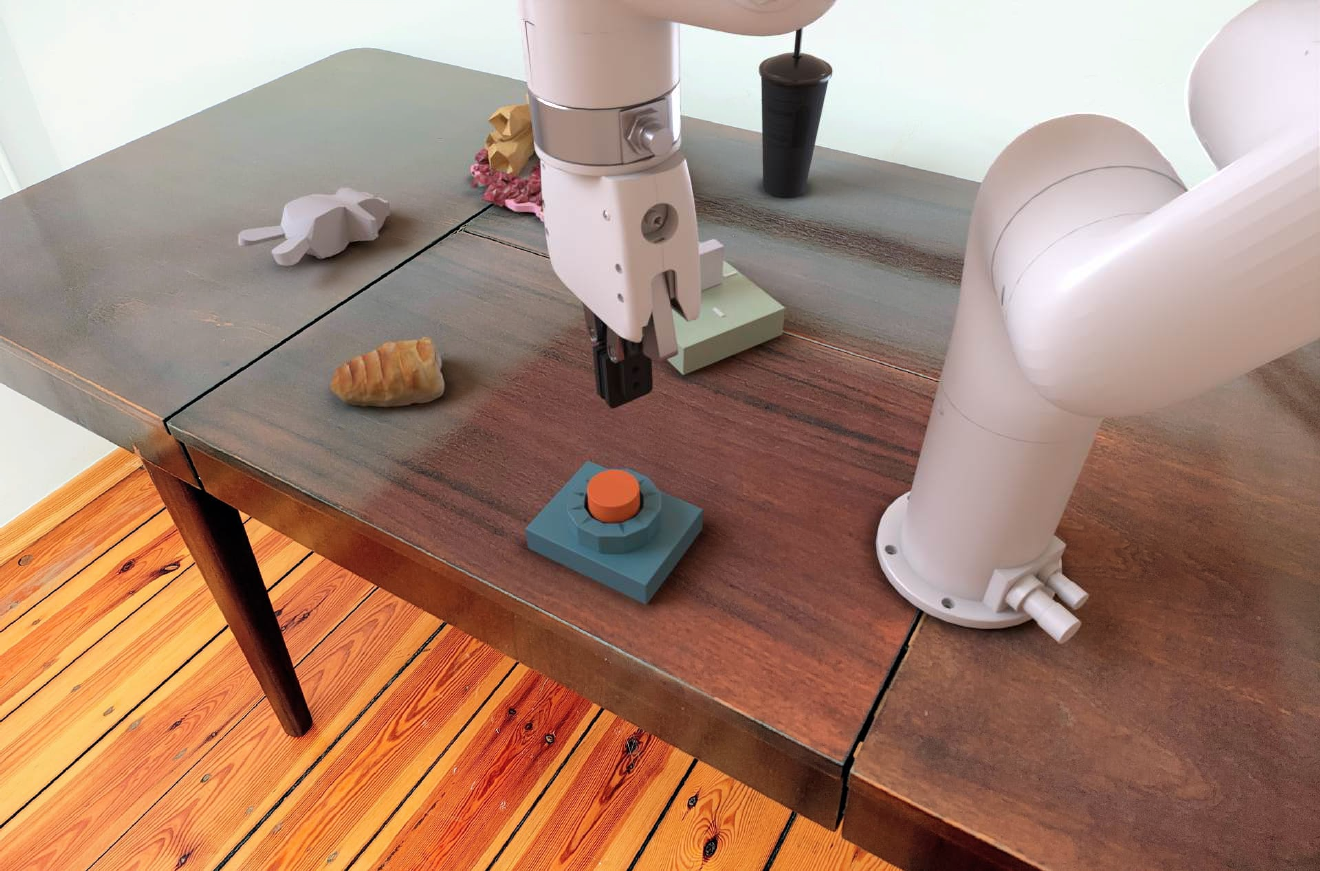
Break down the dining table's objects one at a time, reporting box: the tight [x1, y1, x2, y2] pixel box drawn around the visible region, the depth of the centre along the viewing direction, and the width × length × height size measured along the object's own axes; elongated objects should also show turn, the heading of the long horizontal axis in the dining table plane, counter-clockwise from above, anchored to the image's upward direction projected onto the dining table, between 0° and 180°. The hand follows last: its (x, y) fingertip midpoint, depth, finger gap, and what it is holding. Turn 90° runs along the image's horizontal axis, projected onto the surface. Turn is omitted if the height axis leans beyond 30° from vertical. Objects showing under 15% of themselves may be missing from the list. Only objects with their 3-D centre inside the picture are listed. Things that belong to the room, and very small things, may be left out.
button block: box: [525, 460, 704, 605], centre depth 66 cm, size 10×8×4 cm
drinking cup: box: [758, 27, 834, 199], centre depth 100 cm, size 8×8×20 cm
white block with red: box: [699, 238, 725, 291], centre depth 85 cm, size 6×2×4 cm, turn 123°
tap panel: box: [666, 239, 786, 376], centre depth 87 cm, size 14×11×3 cm
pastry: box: [330, 336, 445, 408], centre depth 79 cm, size 9×7×4 cm
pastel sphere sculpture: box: [470, 93, 544, 223], centre depth 105 cm, size 25×24×9 cm
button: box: [587, 470, 640, 524], centre depth 65 cm, size 4×4×2 cm
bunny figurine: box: [237, 186, 391, 267], centre depth 96 cm, size 10×5×15 cm
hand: (625, 393), depth 59 cm, fingers closed
